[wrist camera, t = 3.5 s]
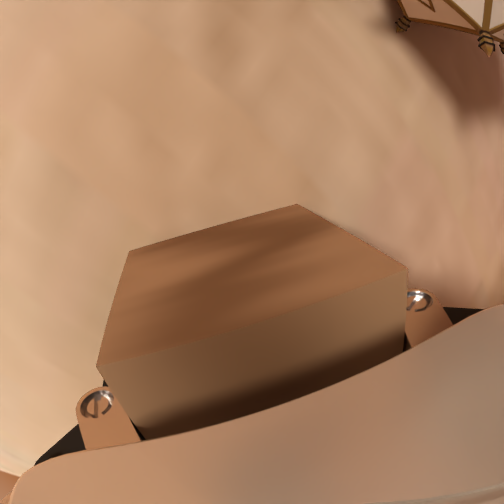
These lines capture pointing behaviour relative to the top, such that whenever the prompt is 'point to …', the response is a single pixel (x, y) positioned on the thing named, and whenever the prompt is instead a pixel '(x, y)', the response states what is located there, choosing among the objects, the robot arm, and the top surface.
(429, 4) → the game die
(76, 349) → the top surface
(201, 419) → the walnut block
